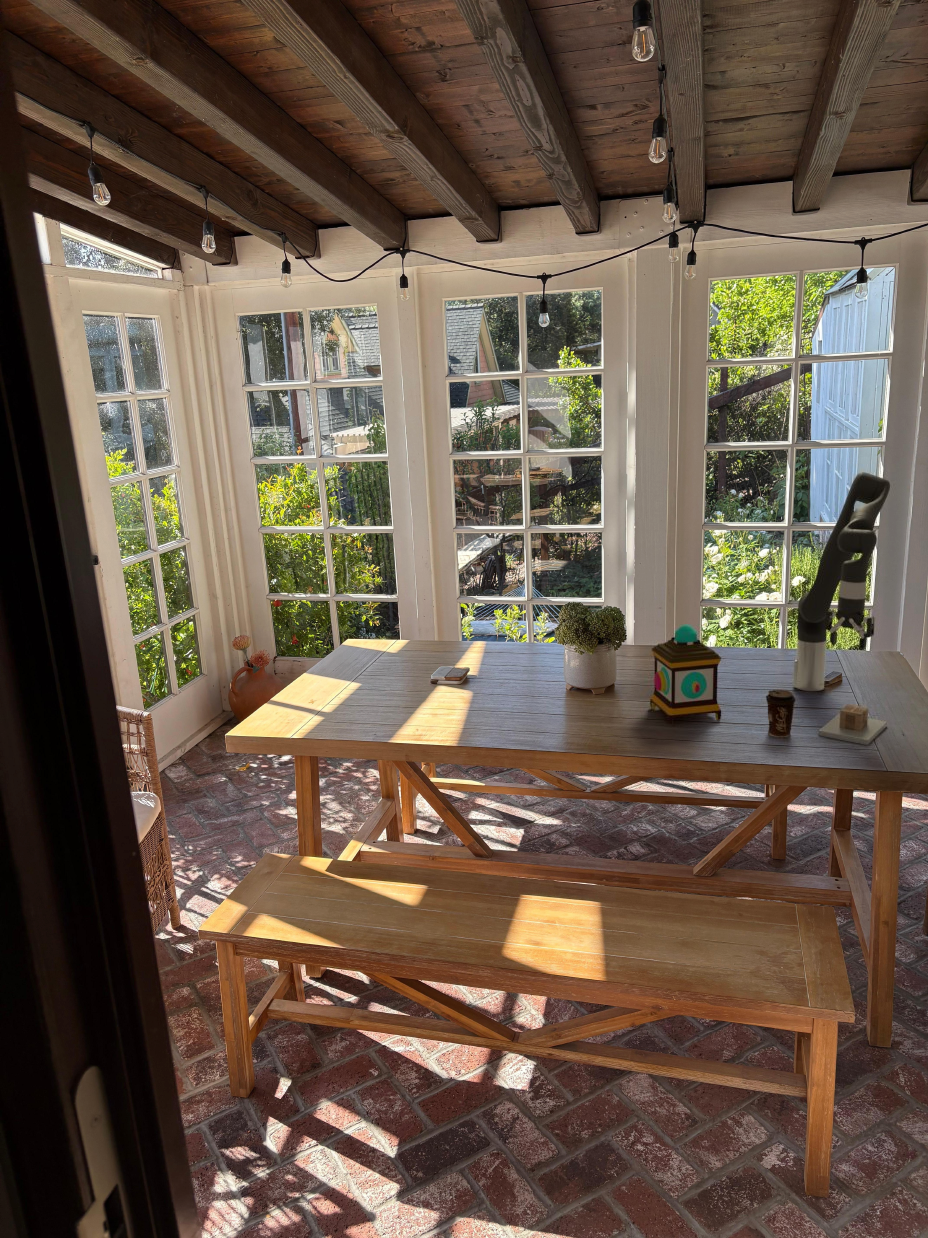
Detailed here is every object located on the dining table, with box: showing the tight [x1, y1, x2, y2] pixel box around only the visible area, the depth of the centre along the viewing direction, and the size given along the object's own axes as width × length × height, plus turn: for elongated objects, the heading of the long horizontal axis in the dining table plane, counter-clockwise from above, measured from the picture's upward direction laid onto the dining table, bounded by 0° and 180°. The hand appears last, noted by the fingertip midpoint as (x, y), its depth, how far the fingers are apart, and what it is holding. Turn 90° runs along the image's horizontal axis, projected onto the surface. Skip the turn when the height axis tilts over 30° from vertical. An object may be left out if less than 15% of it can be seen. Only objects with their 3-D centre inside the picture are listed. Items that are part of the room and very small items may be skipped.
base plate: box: [818, 712, 888, 746], centre depth 272 cm, size 14×18×2 cm
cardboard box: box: [839, 704, 869, 731], centre depth 271 cm, size 7×6×6 cm
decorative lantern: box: [649, 624, 722, 726], centre depth 289 cm, size 20×20×30 cm
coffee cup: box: [765, 689, 796, 739], centre depth 272 cm, size 9×8×13 cm
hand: (847, 646), depth 277 cm, fingers open, 8 cm apart
